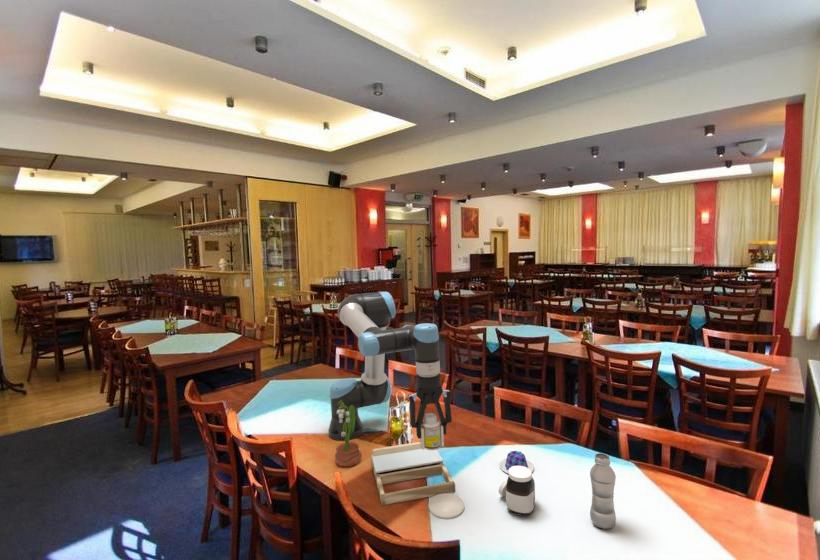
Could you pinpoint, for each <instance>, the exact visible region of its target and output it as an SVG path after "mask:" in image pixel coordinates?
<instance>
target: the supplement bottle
mask: <svg viewBox="0 0 820 560" xmlns="http://www.w3.org/2000/svg"><path fill="white" fill-rule="evenodd" d="M437 415H438V414H436V413H434V412H433V413H432V412H428V413H424V417H423V422H422V427H423V429H424V444H425V449H427V450H437V451H438V449H440V448H441V447H442V446H441V438H440V423H441V421H440V420H439V419H438V416H437Z"/></svg>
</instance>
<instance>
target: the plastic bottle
mask: <svg viewBox="0 0 820 560" xmlns="http://www.w3.org/2000/svg"><path fill="white" fill-rule="evenodd" d="M594 463H595V464H594V465H592V467H591V468H590V471H589V476H590V482H591V491H592V493H591V495H592V497H591V505H590V510H589V515H590V520H591V523H593V524H594V526H595V527H598V528H600V529H604V530H609V529H612V528H613V527H615V525H616V522H617V521H616V520H617V516H616V510H615V502H614V495H615V493H614V491H615V485H616V476H617V475H616V472H615V470H613V468H612V466H611V461H610V456H609V455H608V454H606V453H603V452H599V453H595V454H594Z"/></svg>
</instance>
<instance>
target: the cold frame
mask: <svg viewBox="0 0 820 560" xmlns="http://www.w3.org/2000/svg"><path fill="white" fill-rule="evenodd" d="M370 458H371V466H372V470H373V471H372V472H373V474H374V478H375V482H376V483H375V484H376V487H377V492H378V494H379V495H378V496H379V499H380V503H381V506H386V505H387V506H388V505H392V504H396V503H402V502H403V503H404V502H409V501H413V500H419V499H424V498H429V497H434V496H435V495H438V494H442V493H450V494H452V493H456V483H455V481H454V479H453V477H452V476H451V474H450V472H449V471H448V469H447V467H446V466H445V464H444V461H443V462H440V463H435V464H436V465H435V464H434V465H427V466H423V467H422V466H421V467H418V468H417V467H415V468H411V469H406V470H404V469H403V470H400V471H393V472H388V473H381V474H380V473H376V472H375V468H374V464H373V460H372V456H371V457H370ZM439 474H440V475H443V476H442V478H443V479H444V481H445V482H442V483H436V484H435V483H434V484H430V485H429V484H428V485H425V486H419V487H414V488H413V487H412V488H409V489H401V490H396V491H390V492H386V493H385V491H384V486H383V485H389V484H394V483H400V482H406V481H410V480H417V479H421V478H422V479H423V478H428V477H434V475H435V476H439ZM451 492H452V493H451Z"/></svg>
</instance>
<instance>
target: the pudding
mask: <svg viewBox="0 0 820 560" xmlns="http://www.w3.org/2000/svg"><path fill="white" fill-rule="evenodd" d="M512 466H524V467H527V468H529V469H530V470H531V472H532V473H533V472H534V470H535V466H534V464H533V463H532V462H530V461H529V460H527V459H526V455H525V454H524V453H523V452H522V451H518V450H511V451H509V452H508V453H507V456H506V458H504V459H502V460H501V461H500V462H499V468H500V469H501V470H502V471H503V472H504V473H506V474H508V475H509V473H508V470H509V468H511V467H512Z"/></svg>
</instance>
